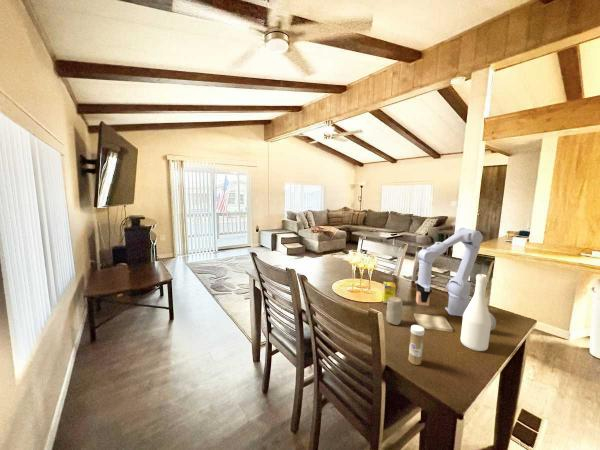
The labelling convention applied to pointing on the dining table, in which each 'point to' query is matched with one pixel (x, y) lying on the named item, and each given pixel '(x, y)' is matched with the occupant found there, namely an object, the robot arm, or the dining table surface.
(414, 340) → the sprinkles bottle
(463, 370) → the dining table surface
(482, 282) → the wine bottle
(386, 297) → the supplement box
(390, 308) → the carving
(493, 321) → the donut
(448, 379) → the dining table surface
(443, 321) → the birch board
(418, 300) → the peach cube
